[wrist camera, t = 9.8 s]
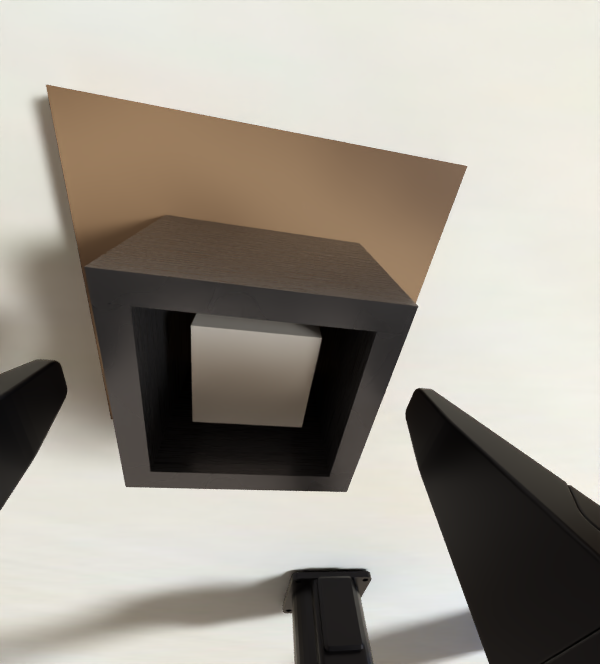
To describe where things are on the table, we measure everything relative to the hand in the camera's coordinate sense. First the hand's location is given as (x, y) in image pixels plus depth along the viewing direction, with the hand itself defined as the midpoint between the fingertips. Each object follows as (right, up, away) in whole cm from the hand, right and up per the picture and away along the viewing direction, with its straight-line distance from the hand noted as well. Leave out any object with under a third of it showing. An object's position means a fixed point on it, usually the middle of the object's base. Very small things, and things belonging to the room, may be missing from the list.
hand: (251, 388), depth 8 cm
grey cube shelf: (0, +2, +4) cm, 4 cm away
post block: (0, +3, +5) cm, 5 cm away
